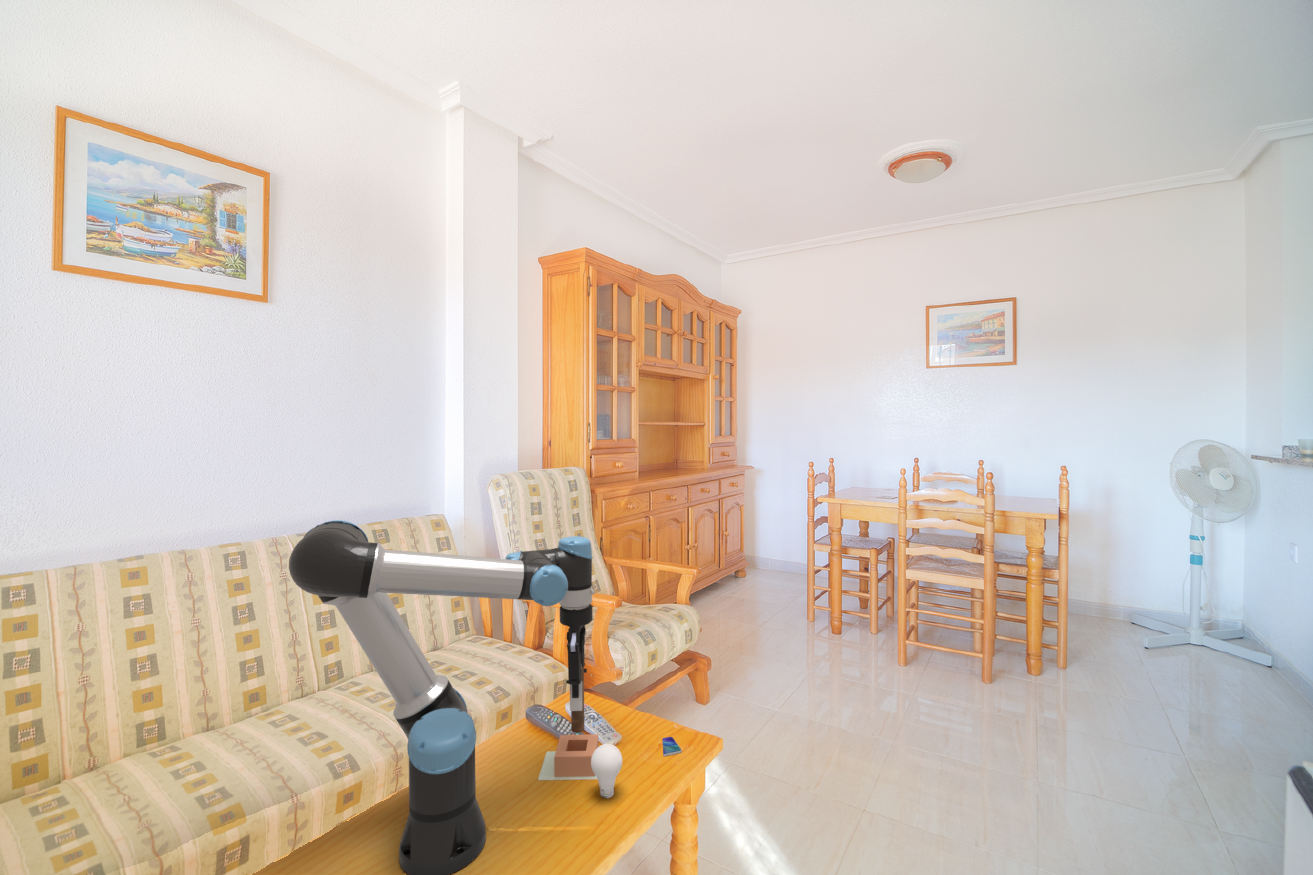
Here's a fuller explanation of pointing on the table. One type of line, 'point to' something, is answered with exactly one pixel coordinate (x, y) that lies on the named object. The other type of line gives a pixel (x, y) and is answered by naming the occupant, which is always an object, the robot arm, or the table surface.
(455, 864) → the robot arm
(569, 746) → the terracotta hollow block
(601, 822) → the table surface
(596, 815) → the table surface
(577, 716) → the dark brown rod
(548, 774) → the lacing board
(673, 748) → the smartphone
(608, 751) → the light bulb
